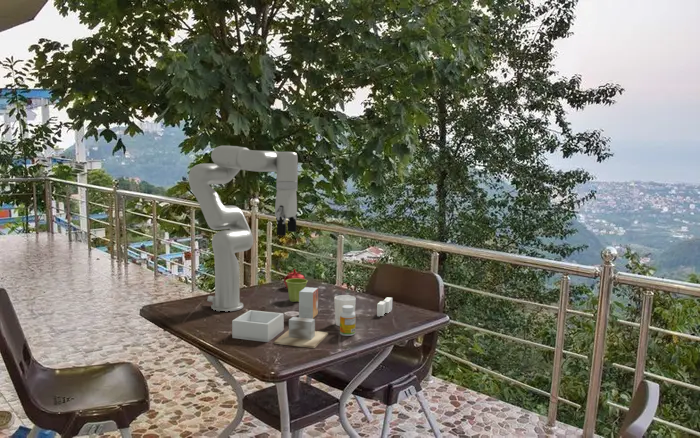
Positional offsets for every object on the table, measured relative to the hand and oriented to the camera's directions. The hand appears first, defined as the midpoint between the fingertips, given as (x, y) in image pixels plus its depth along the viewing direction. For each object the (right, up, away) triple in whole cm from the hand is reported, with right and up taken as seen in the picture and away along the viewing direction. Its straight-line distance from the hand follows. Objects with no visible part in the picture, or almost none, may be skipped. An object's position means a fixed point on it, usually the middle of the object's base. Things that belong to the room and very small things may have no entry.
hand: (286, 233), depth 186 cm
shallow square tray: (-8, -34, -10) cm, 37 cm away
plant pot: (0, -30, +34) cm, 46 cm away
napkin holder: (+36, -33, +18) cm, 52 cm away
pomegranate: (-3, -28, +56) cm, 63 cm away
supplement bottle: (+22, -35, -8) cm, 42 cm away
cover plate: (+7, -36, -14) cm, 39 cm away
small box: (+7, -33, +12) cm, 35 cm away
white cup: (+21, -34, +3) cm, 40 cm away
